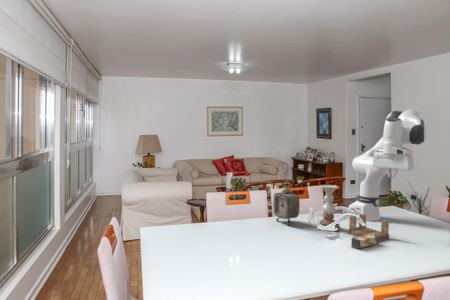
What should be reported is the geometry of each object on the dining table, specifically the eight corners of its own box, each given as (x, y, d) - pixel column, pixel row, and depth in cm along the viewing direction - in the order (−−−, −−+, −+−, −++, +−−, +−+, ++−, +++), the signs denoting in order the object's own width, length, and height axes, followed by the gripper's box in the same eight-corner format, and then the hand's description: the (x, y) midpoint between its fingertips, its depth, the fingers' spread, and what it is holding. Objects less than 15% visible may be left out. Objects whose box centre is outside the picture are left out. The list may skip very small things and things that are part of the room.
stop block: (352, 244, 157) (352, 237, 157) (359, 242, 159) (359, 235, 159) (356, 246, 155) (357, 238, 154) (363, 244, 157) (363, 237, 157)
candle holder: (316, 229, 181) (317, 186, 180) (320, 224, 191) (321, 183, 190) (336, 232, 176) (337, 188, 175) (339, 227, 186) (341, 185, 185)
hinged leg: (372, 241, 161) (372, 233, 160) (379, 243, 157) (379, 235, 157) (351, 246, 153) (351, 238, 153) (358, 249, 150) (358, 240, 149)
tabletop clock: (273, 220, 199) (273, 179, 197) (285, 219, 202) (286, 178, 201) (287, 226, 186) (288, 183, 184) (300, 225, 189) (301, 182, 188)
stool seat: (348, 233, 174) (348, 216, 174) (361, 230, 180) (362, 213, 179) (375, 242, 161) (376, 223, 160) (389, 238, 166) (389, 220, 166)
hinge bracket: (367, 242, 161) (368, 232, 160) (372, 241, 162) (372, 231, 162) (374, 244, 157) (375, 234, 157) (378, 243, 159) (379, 233, 159)
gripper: (370, 149, 173) (369, 175, 174) (408, 151, 156) (407, 180, 156) (377, 149, 176) (376, 174, 177) (416, 151, 159) (414, 179, 160)
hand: (391, 177), depth 167 cm, fingers closed
